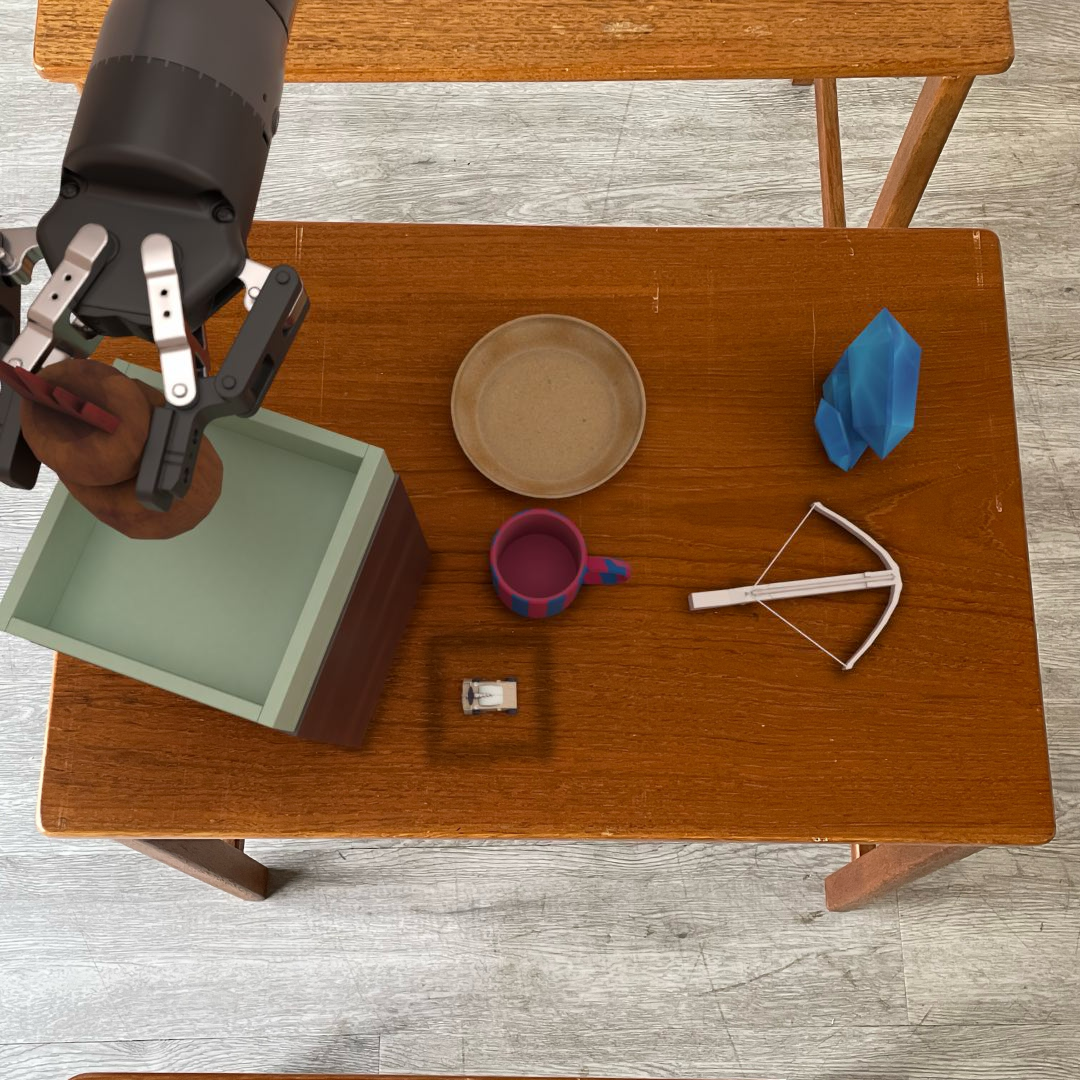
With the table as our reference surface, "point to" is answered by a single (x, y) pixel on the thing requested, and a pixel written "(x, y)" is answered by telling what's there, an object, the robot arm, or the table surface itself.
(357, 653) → the plinth
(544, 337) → the plant saucer
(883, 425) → the crystal
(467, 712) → the toy car
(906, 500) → the table surface
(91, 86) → the robot arm
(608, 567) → the cup
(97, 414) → the wooden figurine
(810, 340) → the table surface
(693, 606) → the crossbow
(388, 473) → the bin
